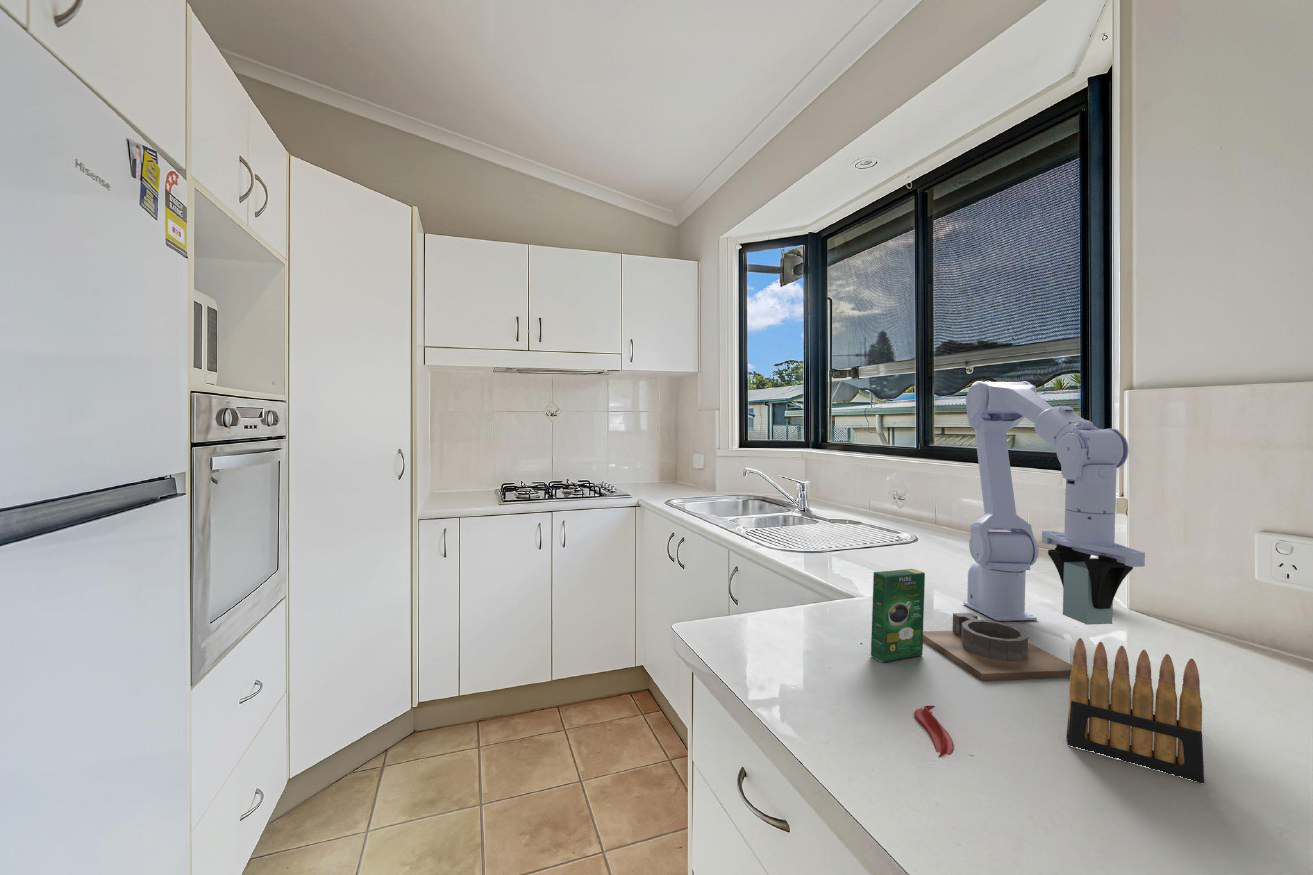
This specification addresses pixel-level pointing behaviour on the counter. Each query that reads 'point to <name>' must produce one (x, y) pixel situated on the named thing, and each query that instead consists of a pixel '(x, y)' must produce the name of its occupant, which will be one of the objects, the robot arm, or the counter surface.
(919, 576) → the coffee box
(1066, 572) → the blue-gray rectangular block
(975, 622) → the cup bracket
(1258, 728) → the counter surface
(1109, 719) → the ammunition clip
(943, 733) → the cayenne pepper
